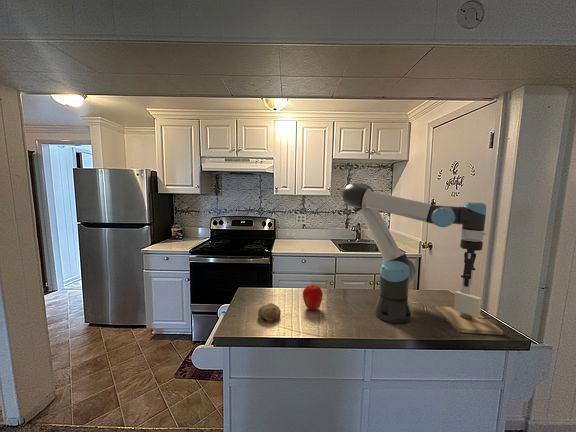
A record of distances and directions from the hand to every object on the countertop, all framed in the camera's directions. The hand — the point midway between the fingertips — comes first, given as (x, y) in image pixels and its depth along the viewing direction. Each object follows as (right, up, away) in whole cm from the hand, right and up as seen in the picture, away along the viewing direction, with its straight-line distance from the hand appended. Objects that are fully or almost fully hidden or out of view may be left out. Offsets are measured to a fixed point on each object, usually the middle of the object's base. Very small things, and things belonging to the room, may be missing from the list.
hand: (466, 288), depth 109 cm
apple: (-65, -13, +11) cm, 67 cm away
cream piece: (+3, -12, +2) cm, 13 cm away
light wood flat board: (0, -14, +1) cm, 14 cm away
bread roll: (-84, -14, +3) cm, 85 cm away
